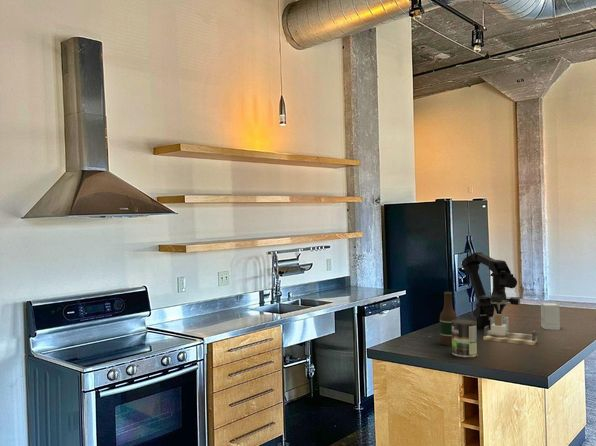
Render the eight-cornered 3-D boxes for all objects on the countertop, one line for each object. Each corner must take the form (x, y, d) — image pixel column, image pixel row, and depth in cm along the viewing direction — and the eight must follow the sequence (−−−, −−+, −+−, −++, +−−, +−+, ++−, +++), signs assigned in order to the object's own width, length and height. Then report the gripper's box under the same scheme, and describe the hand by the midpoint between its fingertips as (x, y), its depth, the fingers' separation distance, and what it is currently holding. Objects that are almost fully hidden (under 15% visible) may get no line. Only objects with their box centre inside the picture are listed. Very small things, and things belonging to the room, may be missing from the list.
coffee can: (457, 357, 211) (456, 324, 211) (448, 351, 221) (447, 319, 221) (481, 356, 211) (480, 323, 211) (471, 350, 222) (470, 318, 222)
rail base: (483, 340, 241) (483, 328, 241) (488, 335, 249) (487, 324, 249) (533, 345, 229) (533, 333, 229) (537, 340, 237) (536, 329, 237)
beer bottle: (457, 342, 237) (456, 291, 237) (457, 346, 230) (456, 293, 230) (440, 341, 240) (439, 290, 240) (439, 345, 232) (438, 292, 232)
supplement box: (560, 330, 260) (559, 305, 260) (544, 329, 261) (544, 305, 261) (556, 327, 267) (555, 303, 267) (540, 326, 268) (540, 302, 268)
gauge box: (490, 334, 252) (490, 318, 252) (493, 331, 258) (493, 316, 258) (505, 335, 249) (505, 319, 249) (508, 333, 254) (508, 317, 254)
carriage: (490, 334, 241) (490, 315, 241) (493, 332, 246) (493, 313, 246) (504, 335, 238) (503, 316, 238) (506, 333, 243) (506, 314, 243)
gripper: (475, 286, 252) (476, 318, 252) (516, 288, 242) (516, 321, 242) (481, 284, 261) (481, 314, 261) (520, 286, 251) (520, 317, 251)
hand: (499, 317), depth 253 cm, fingers closed, pressing on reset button
